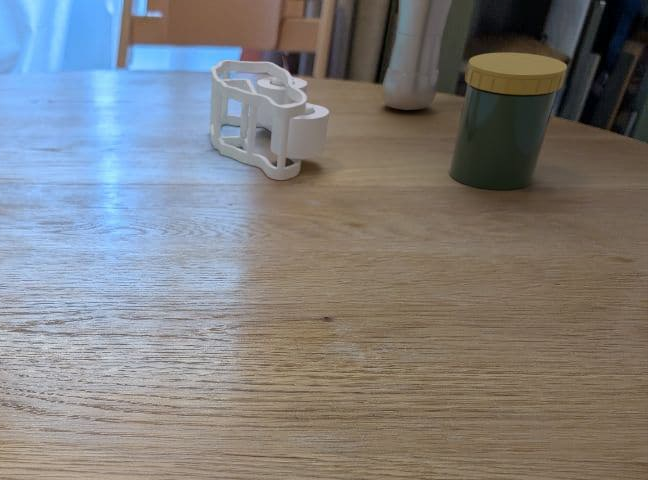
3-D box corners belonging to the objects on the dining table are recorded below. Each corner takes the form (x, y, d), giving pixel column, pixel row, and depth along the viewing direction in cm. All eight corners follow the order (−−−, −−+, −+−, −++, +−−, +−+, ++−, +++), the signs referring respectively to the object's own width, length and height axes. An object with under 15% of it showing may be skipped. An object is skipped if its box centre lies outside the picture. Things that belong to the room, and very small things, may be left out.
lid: (559, 74, 83) (564, 55, 82) (564, 98, 77) (570, 77, 76) (465, 69, 86) (469, 50, 85) (463, 91, 80) (467, 71, 78)
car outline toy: (331, 178, 87) (340, 106, 83) (223, 181, 87) (227, 109, 83) (294, 120, 104) (300, 57, 99) (204, 123, 104) (206, 60, 100)
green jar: (531, 166, 89) (559, 61, 83) (534, 193, 83) (564, 82, 76) (450, 159, 91) (472, 56, 85) (447, 185, 85) (470, 76, 79)
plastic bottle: (368, 104, 108) (395, -75, 97) (414, 98, 110) (446, -79, 98) (397, 118, 103) (428, -69, 92) (445, 112, 105) (482, -73, 93)
